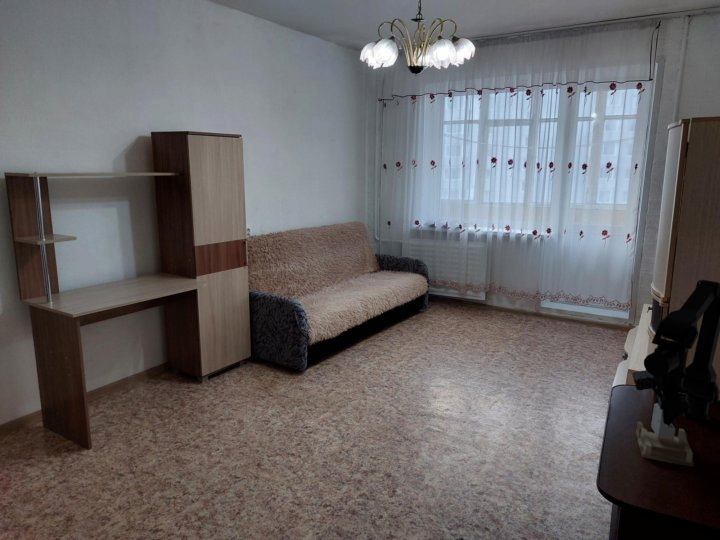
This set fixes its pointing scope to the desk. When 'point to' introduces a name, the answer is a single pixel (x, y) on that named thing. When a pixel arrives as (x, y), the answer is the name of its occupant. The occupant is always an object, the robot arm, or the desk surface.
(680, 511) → the desk surface
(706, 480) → the desk surface
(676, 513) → the desk surface
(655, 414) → the white wedge bracket
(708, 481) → the desk surface
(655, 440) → the slotted track
